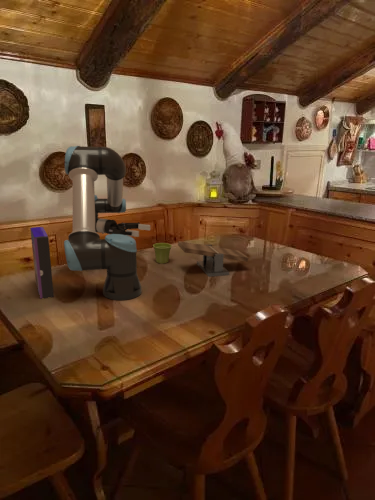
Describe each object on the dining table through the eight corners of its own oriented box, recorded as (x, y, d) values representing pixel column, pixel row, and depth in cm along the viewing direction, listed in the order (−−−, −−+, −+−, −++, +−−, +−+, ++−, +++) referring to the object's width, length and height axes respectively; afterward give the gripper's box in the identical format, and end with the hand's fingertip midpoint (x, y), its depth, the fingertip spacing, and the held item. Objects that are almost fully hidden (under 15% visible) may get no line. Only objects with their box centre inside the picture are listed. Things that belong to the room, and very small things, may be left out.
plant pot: (171, 259, 186) (171, 243, 183) (171, 265, 177) (171, 248, 174) (153, 258, 185) (153, 242, 183) (152, 264, 176) (152, 247, 174)
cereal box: (35, 283, 150) (30, 227, 143) (48, 281, 152) (42, 226, 146) (40, 299, 136) (34, 237, 129) (53, 296, 138) (48, 236, 131)
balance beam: (237, 254, 181) (238, 250, 180) (247, 261, 170) (248, 257, 169) (177, 245, 170) (178, 241, 170) (184, 252, 159) (185, 248, 159)
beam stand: (229, 274, 165) (230, 254, 163) (208, 276, 163) (209, 255, 160) (215, 262, 182) (216, 243, 179) (196, 264, 179) (197, 244, 176)
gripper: (119, 228, 199) (154, 232, 193) (94, 239, 176) (133, 244, 170) (118, 214, 197) (154, 218, 190) (93, 224, 174) (133, 229, 168)
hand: (144, 230), depth 180 cm, fingers open, 13 cm apart
